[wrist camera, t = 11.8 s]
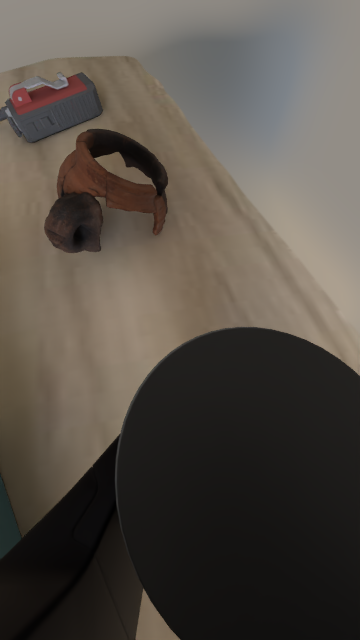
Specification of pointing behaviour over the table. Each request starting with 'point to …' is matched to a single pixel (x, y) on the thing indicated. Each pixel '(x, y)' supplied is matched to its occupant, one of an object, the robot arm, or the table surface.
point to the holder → (245, 488)
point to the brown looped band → (102, 190)
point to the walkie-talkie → (50, 105)
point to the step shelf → (7, 524)
